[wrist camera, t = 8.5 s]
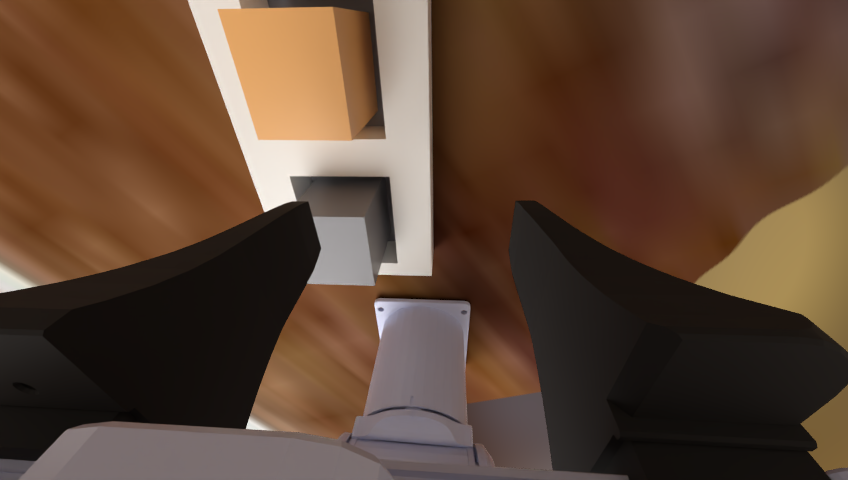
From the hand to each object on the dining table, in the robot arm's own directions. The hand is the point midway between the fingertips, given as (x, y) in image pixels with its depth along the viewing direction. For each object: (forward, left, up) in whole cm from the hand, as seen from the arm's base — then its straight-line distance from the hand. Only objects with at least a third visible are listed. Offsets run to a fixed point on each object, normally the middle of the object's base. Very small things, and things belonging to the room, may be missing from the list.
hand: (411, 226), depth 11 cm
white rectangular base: (0, +5, -9) cm, 10 cm away
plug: (+4, +5, -9) cm, 11 cm away
